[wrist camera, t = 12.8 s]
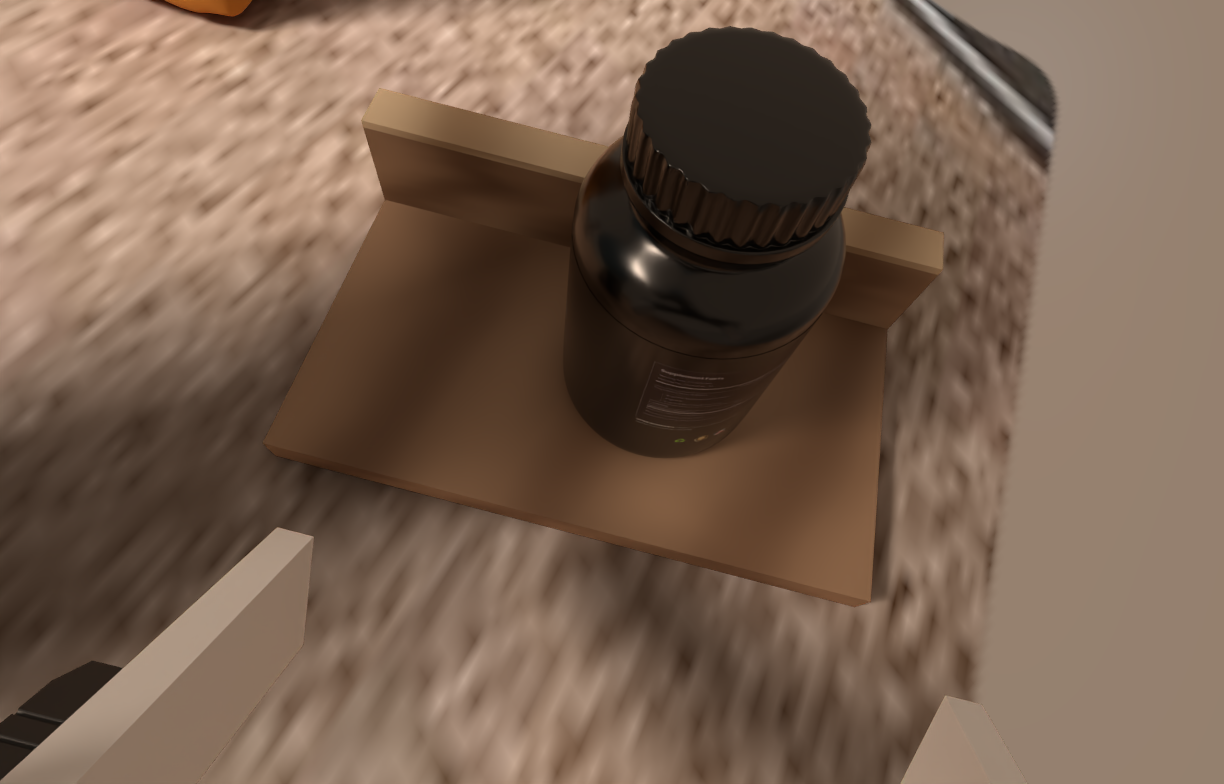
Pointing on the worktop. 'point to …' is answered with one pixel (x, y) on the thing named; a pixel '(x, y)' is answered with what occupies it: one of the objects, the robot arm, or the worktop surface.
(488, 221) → the walnut shelf
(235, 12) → the orange brown carved sculpture
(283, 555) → the robot arm
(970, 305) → the worktop surface
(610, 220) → the supplement bottle
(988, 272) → the worktop surface
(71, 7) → the worktop surface
